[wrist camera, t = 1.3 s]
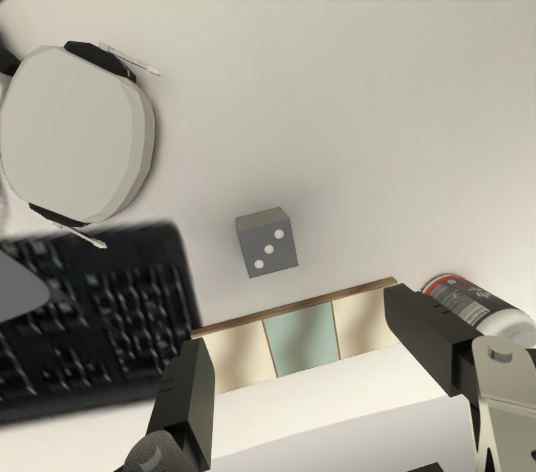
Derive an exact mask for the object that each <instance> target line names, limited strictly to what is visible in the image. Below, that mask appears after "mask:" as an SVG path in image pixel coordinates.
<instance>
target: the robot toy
mask: <svg viewBox="0 0 536 472" xmlns="http://www.w3.org/2000/svg"><path fill="white" fill-rule="evenodd" d="M114 55H116V56H118V57H120V58H122V59H125V60H127V61H129V62H131V63H133V64H135V65H137V66H140V67H142V68H144V69H146V70H148V71H149V72H151V73H153V74H155V75H157V76H160V75H162V74H161V73H160V72H159V71H158V70H157V69H156V68H153V67H151V66H149V65H148V66H147V65H145V64H143V63H141V62H138V61H136V60H134V59H132V58H130V57H128V56H126V55H123V54H121V53H119V52H117V51H115V50H114V49H113V48H111V47H110V46H108V45H106V44H104V43H102V42H100V43H99V47H97V46H95V45H93V44H91V43H84V42H75V41H68V42H67V43H66V44H65V46H64V47H55V46H40V47H39V48H37V49H36V50H35V51H33V52H32V53H30V54H29V55H27V56H26V58H25V59H24V60H23V61H22V63H21V62H20V61H19V60H18V59H17V58H16V57H15V56H14V55H13V54H12V53H10V52H9V51H8V50H3V49H0V158H1V164H2V168H3V172H4V174H5V176H6V179H7V181H8V183H9V185H10V187H11V189H12V190H13V191H14V192H15V193H16V194H17V196H18V197H19V198H20V199H22V200H24V201H27V202H29V206H30V208H31V209H32V210H34V211H36V212H37V213H39V214H41V215H42V216H43V217H45V218H46V219H48V220H51V221H53V225H55V226H57V227H59V228H65V229H67V230H69V231H71V232H73V233H75V234H77V235H78V236H80V237H82V238H84V239H86V240H88V241H90V242H92V243H94V245H95V246H97V247H99V248H107V247H106V244H105V243H103V242H102V241H100V240H96V239H94V238H92V237H90V236H88V235H86V234H85V233H83V232H81V231H79V230H77V229H75V228H73V227H84V226H86V225H88V224H91V223H99V222H102V221H104V220H106V219H109V218H111V217H113V216H115V215H116V214H118V213H120V212H121V211H123V210H124V209H125V208H126V207H127V206H128V205H129V204H130V203H131V201H132V200H133V199H134V197H135V196H136V194H137V193H138V191H139V189H140V187H141V185H142V184H143V182H144V180H145V178H146V176H147V174H148V172H149V171H150V166H151V159H152V153H153V147H154V141H155V119H154V113H153V110H152V106H151V103H150V100H149V98H148V97H147V96H146V95H145V94H144V92H143V91H142V90H141V89H140V88H139V87H138V86H137V85H136V76H135V75H134V74H133V73H132V72H131V70H130V69H129V68H128V67H127V66H126V65H125V64H124V63H123V62H122V61H121V60H120V59H118V58H117V57H116V56H114Z"/></svg>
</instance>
